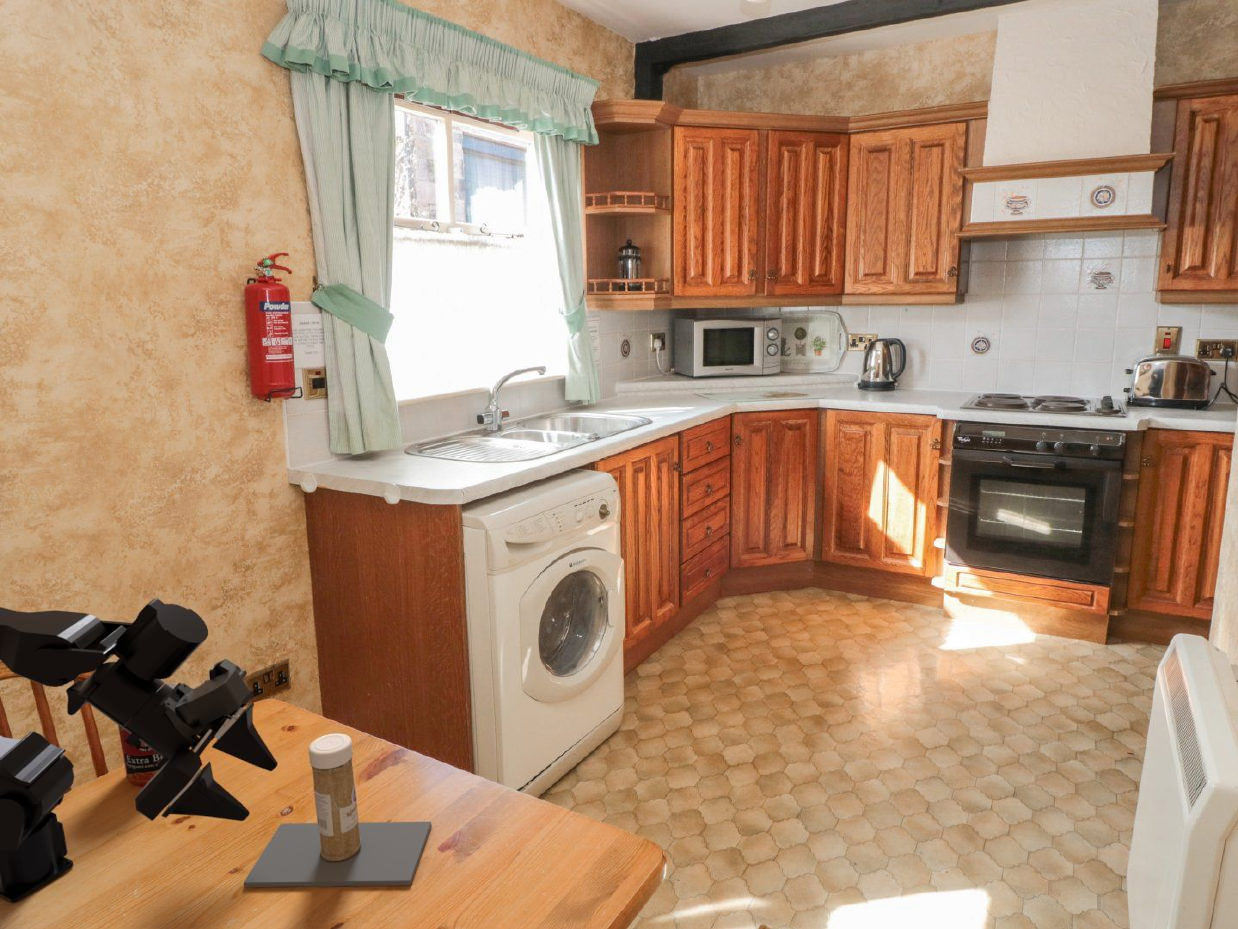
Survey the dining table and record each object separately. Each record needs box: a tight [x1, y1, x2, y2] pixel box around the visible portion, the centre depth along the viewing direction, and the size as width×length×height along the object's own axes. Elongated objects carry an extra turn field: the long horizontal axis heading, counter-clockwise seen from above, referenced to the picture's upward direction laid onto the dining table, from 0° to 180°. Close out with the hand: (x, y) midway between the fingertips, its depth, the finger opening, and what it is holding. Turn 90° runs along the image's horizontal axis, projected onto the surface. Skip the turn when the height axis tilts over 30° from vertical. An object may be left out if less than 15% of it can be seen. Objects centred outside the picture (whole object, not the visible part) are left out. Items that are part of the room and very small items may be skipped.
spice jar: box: [308, 733, 362, 861], centre depth 93 cm, size 5×5×14 cm
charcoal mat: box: [243, 821, 432, 888], centre depth 94 cm, size 18×10×1 cm, turn 90°
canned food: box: [117, 682, 191, 788], centre depth 110 cm, size 8×8×11 cm
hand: (261, 791), depth 91 cm, fingers open, 9 cm apart
